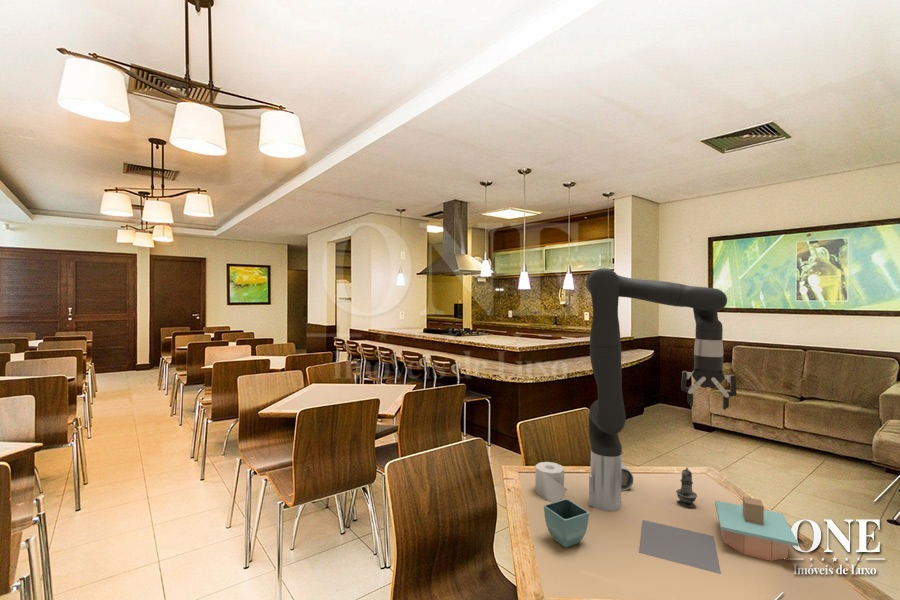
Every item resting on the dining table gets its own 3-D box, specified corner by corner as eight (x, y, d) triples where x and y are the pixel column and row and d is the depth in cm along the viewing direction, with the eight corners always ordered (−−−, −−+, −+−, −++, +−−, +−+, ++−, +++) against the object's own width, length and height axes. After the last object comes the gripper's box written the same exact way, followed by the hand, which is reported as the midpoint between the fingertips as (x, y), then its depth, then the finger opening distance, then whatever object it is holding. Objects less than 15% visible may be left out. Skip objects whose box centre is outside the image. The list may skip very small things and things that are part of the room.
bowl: (724, 551, 111) (725, 528, 111) (719, 525, 124) (719, 505, 124) (791, 567, 105) (792, 543, 105) (778, 538, 117) (779, 517, 117)
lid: (721, 529, 111) (721, 507, 111) (714, 503, 125) (715, 483, 125) (798, 546, 103) (799, 523, 103) (782, 516, 118) (783, 495, 118)
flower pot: (564, 554, 109) (565, 520, 109) (542, 537, 117) (542, 504, 117) (589, 545, 113) (590, 512, 113) (566, 529, 121) (566, 498, 121)
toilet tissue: (558, 506, 134) (559, 479, 134) (529, 490, 145) (529, 465, 145) (578, 499, 139) (578, 473, 139) (548, 484, 150) (549, 459, 150)
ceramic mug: (625, 480, 153) (625, 459, 153) (633, 491, 145) (633, 468, 145) (595, 480, 154) (595, 458, 154) (602, 490, 146) (602, 468, 146)
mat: (638, 554, 110) (638, 552, 110) (642, 521, 126) (642, 519, 126) (720, 575, 102) (720, 573, 102) (713, 537, 118) (713, 536, 118)
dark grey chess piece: (691, 500, 139) (692, 464, 139) (700, 509, 133) (701, 471, 133) (672, 499, 140) (673, 463, 139) (680, 508, 134) (681, 470, 134)
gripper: (734, 354, 129) (733, 407, 129) (681, 351, 136) (680, 401, 136) (738, 357, 122) (737, 413, 123) (682, 353, 129) (681, 407, 129)
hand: (707, 407), depth 129 cm, fingers open, 8 cm apart
